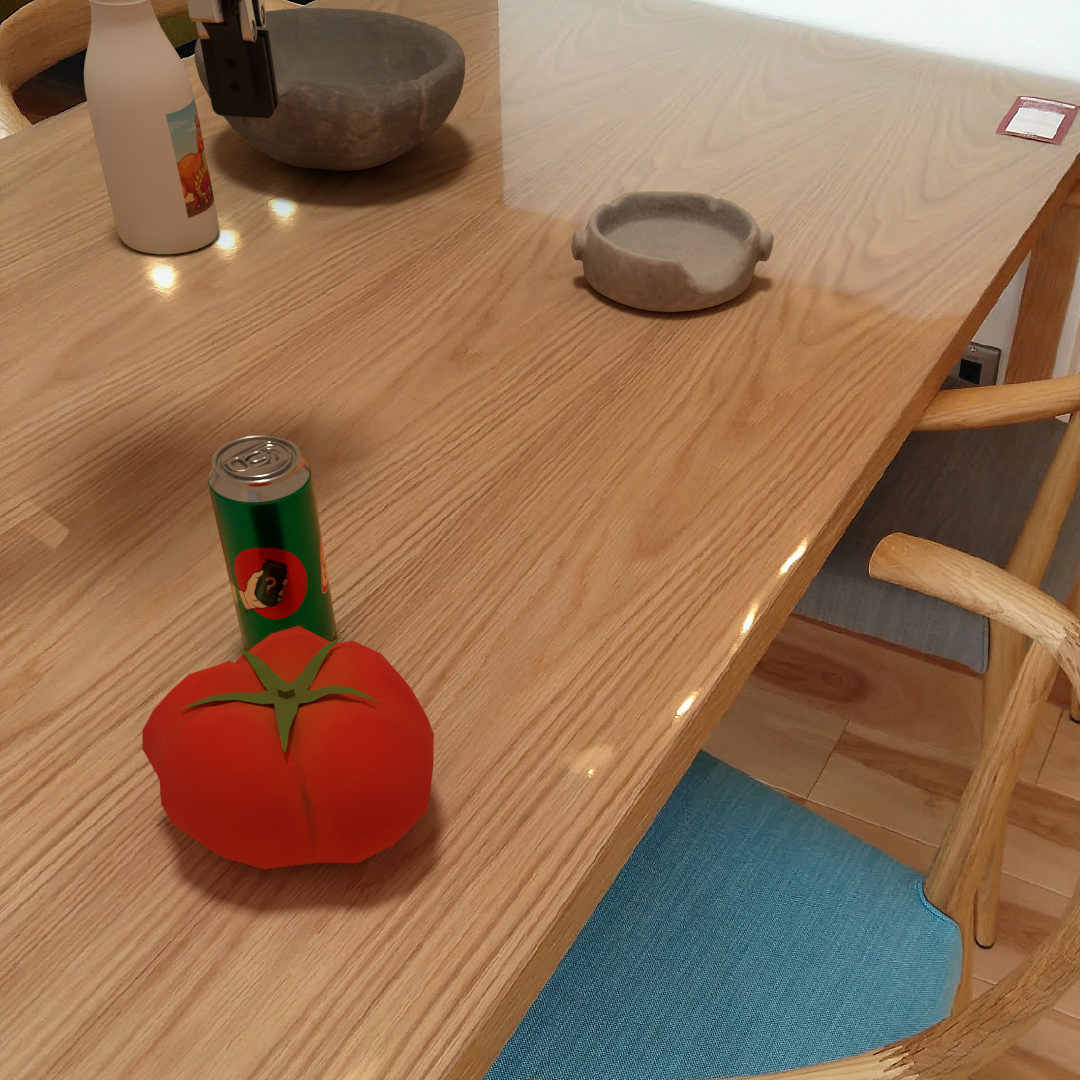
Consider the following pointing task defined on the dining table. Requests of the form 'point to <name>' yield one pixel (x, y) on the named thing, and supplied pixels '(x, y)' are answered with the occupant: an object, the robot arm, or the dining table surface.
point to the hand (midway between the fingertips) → (246, 110)
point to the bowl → (351, 87)
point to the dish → (670, 250)
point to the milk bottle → (147, 131)
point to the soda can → (271, 538)
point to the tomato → (293, 753)
